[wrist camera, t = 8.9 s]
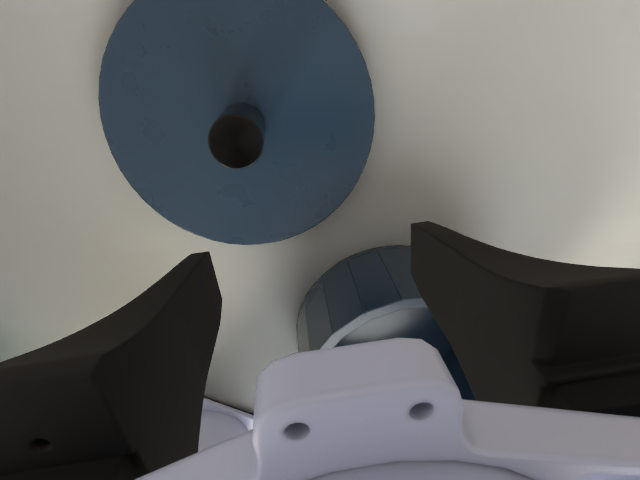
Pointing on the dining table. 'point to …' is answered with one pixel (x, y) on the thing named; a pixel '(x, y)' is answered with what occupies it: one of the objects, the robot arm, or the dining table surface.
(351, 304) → the pot
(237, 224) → the pot lid
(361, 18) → the dining table surface
